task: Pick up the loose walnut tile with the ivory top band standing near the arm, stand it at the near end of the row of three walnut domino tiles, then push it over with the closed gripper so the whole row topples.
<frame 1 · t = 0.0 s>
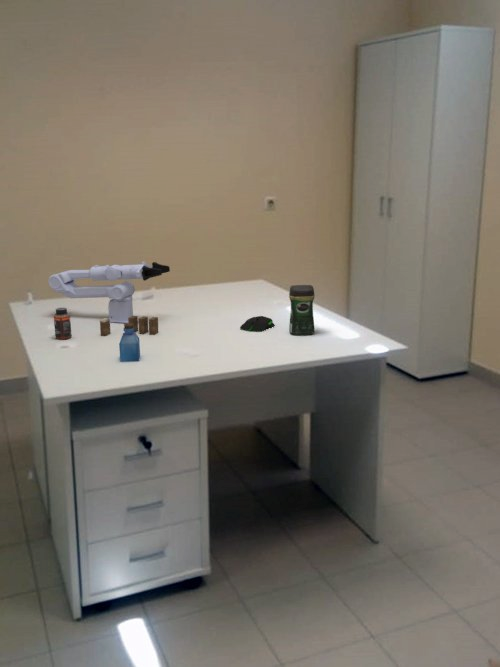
hand: (165, 270, 282), 22 cm above the table, tool horizontal, fingers open, 7 cm apart
computer mouse: (259, 328, 283), on the table
domino 4: (153, 333, 273), on the table
coffee jar: (301, 333, 273), on the table
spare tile: (105, 334, 272), on the table
domino 2: (133, 332, 276), on the table
domino 3: (143, 332, 275), on the table
supplement bottle: (63, 338, 268), on the table
perfume bottle: (130, 359, 242), on the table
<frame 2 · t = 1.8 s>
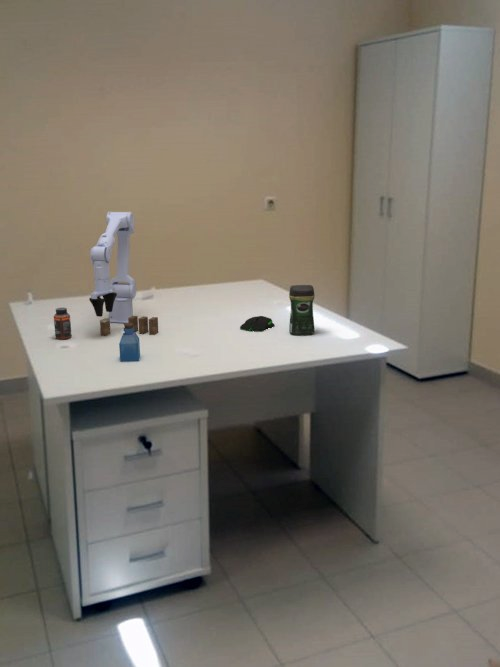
hand: (104, 314, 270), 8 cm above the table, tool pointing down, fingers open, 7 cm apart
nothing on the table moved.
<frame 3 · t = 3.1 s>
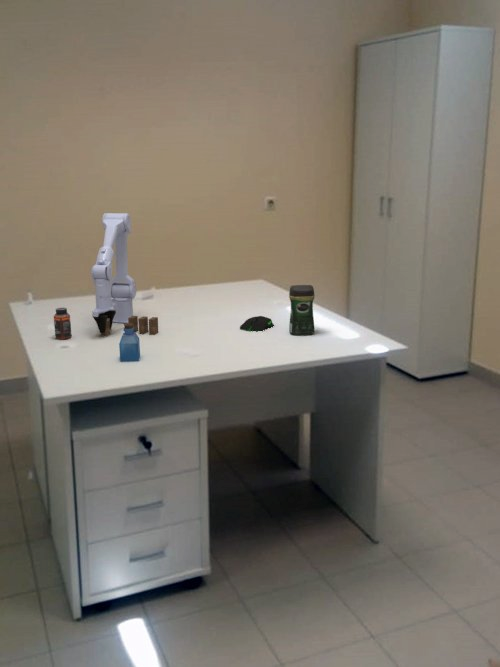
hand: (105, 331, 272), 1 cm above the table, tool pointing down, fingers closed on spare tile, 4 cm apart
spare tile: (105, 334, 272), on the table, touching gripper
everything else where it was.
when the fingers open (2 cm above the table, at t = 6.3 s): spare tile stays where it is, on the table.
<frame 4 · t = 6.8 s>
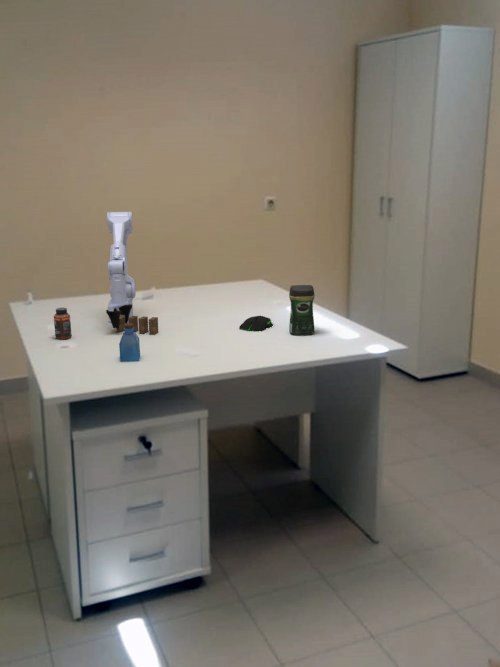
hand: (120, 325, 277), 2 cm above the table, tool pointing down, fingers open, 7 cm apart
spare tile: (120, 331, 277), on the table
everything else where it was.
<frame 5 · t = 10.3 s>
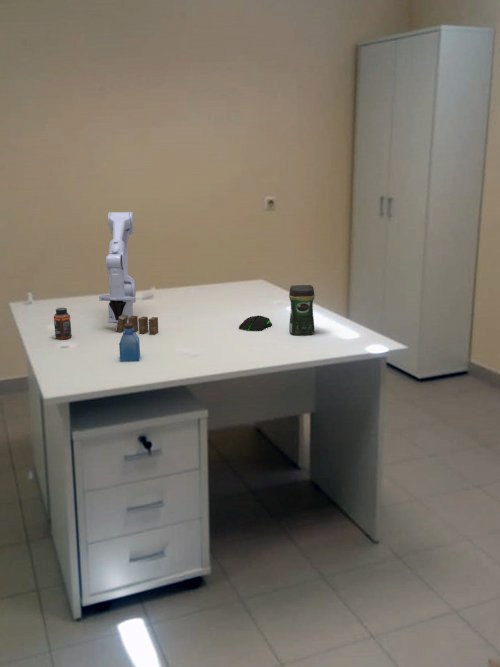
hand: (118, 319, 276), 4 cm above the table, tool pointing down, fingers closed
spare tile: (120, 330, 277), on the table, tilted 14°, touching gripper
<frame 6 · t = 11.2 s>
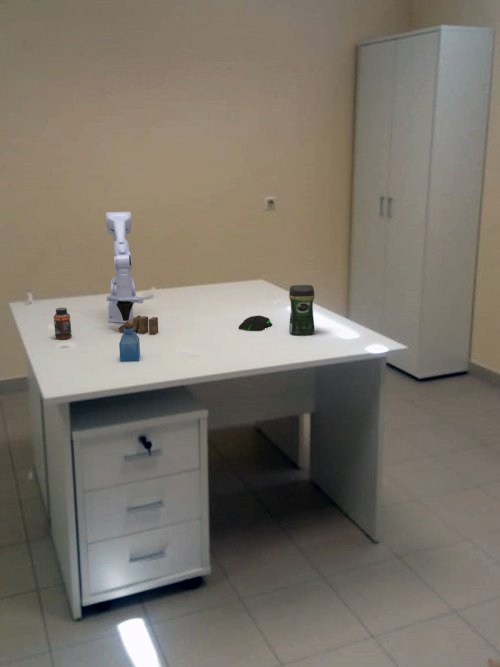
hand: (126, 320, 276), 4 cm above the table, tool pointing down, fingers closed
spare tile: (121, 329, 277), point 1 cm above the table, tilted 53°, touching domino 2
domino 2: (133, 331, 276), on the table, tilted 24°, touching domino 3, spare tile
domino 3: (143, 332, 275), on the table, touching domino 2
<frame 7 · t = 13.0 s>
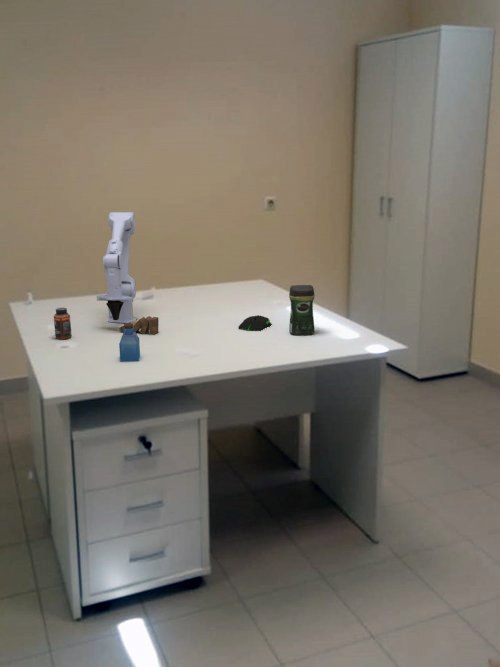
hand: (116, 319, 277), 4 cm above the table, tool pointing down, fingers closed
domino 4: (153, 333, 273), on the table, touching domino 3
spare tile: (122, 329, 277), point 1 cm above the table, tilted 61°, touching domino 2
domino 2: (134, 330, 276), point 1 cm above the table, tilted 42°, touching domino 3, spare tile
domino 3: (144, 331, 275), on the table, tilted 24°, touching domino 2, domino 4
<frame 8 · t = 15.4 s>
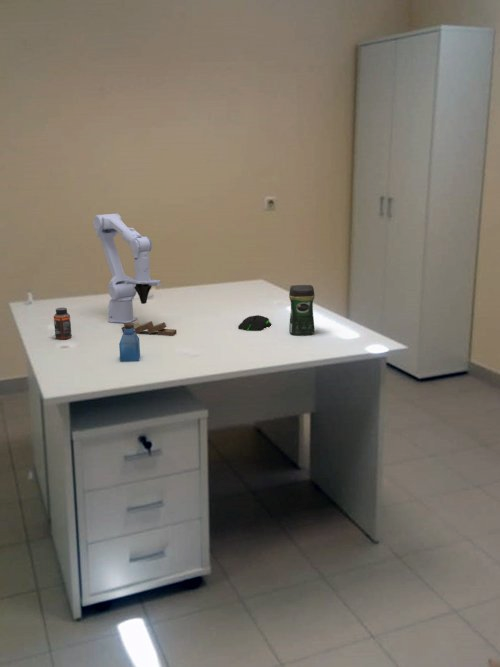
hand: (143, 303, 279), 10 cm above the table, tool pointing down, fingers closed
domino 4: (159, 332, 273), on the table, tilted 90°
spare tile: (124, 329, 277), point 1 cm above the table, tilted 68°, touching domino 2
domino 2: (137, 329, 275), point 1 cm above the table, tilted 67°, touching domino 3, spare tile
domino 3: (150, 330, 274), point 1 cm above the table, tilted 68°, touching domino 2
at the end: domino 4 tilted 90°; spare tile tilted 68°; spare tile inside the target area (0.5 cm from its centre), point 0.9 cm above the table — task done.
